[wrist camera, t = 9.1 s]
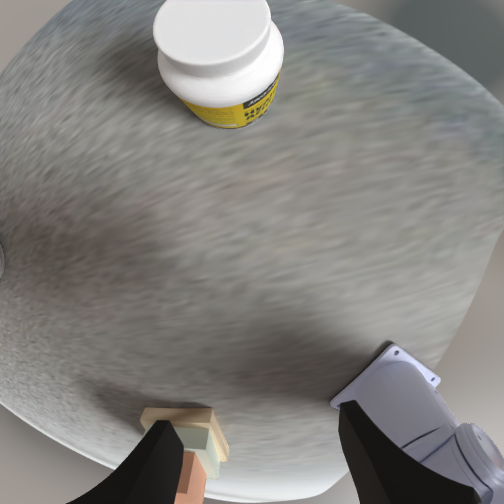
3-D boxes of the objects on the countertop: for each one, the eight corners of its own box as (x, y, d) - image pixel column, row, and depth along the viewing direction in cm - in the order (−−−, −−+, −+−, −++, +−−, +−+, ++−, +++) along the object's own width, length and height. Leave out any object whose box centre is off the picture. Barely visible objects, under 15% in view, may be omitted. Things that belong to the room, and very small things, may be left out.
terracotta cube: (195, 452, 19) (187, 494, 15) (206, 475, 20) (201, 512, 16) (147, 447, 19) (134, 485, 15) (163, 471, 20) (154, 505, 16)
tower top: (209, 428, 21) (205, 449, 19) (220, 461, 23) (217, 479, 20) (147, 423, 22) (140, 442, 19) (165, 456, 23) (160, 473, 21)
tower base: (213, 403, 23) (209, 422, 21) (229, 444, 25) (227, 461, 23) (146, 403, 24) (139, 420, 22) (170, 443, 26) (165, 459, 23)
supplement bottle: (256, 143, 17) (254, 107, 8) (178, 117, 17) (105, 70, 7) (286, 72, 16) (312, -13, 6) (210, 48, 15) (173, -39, 6)
